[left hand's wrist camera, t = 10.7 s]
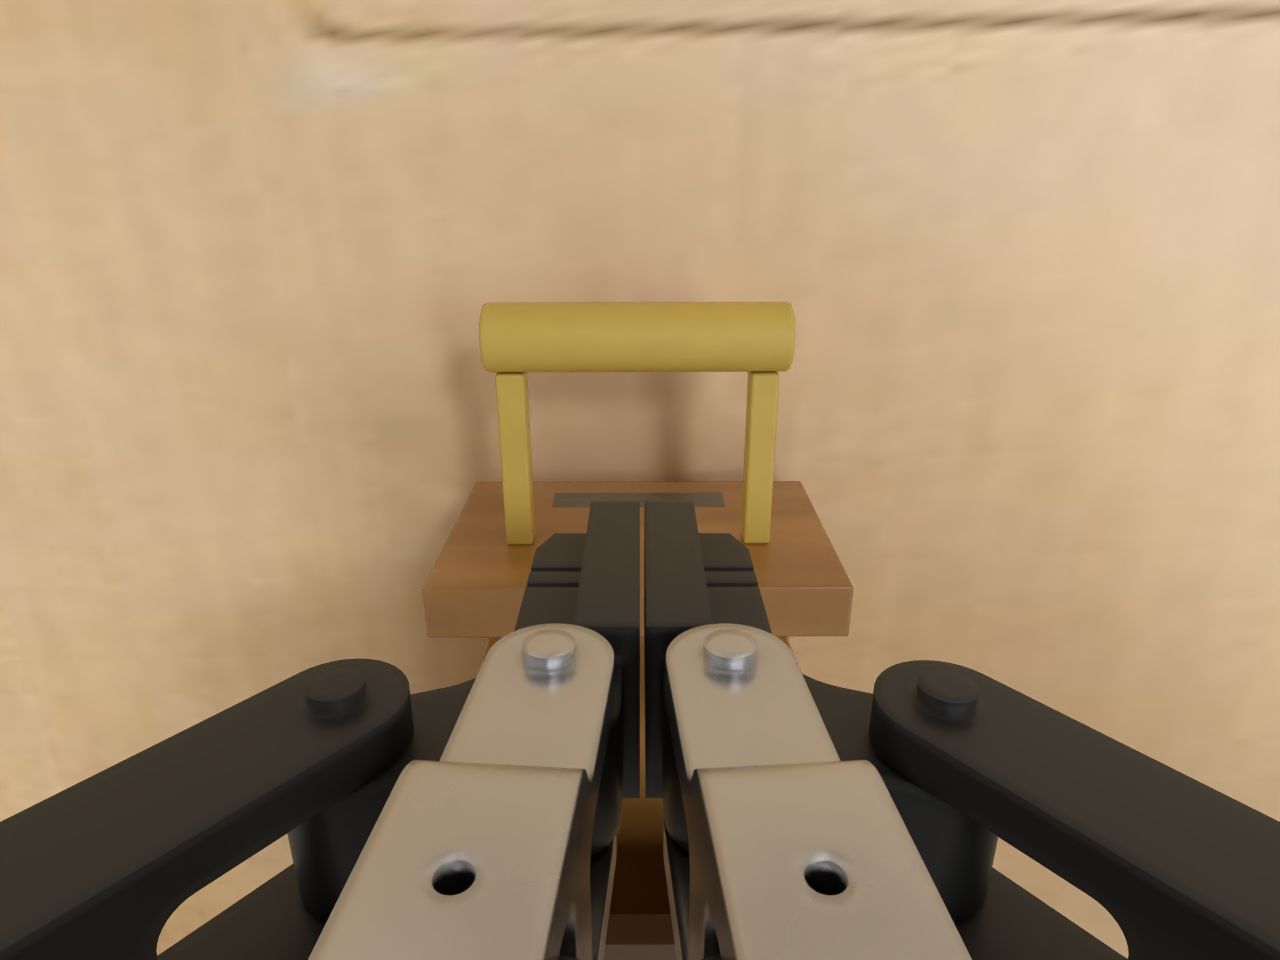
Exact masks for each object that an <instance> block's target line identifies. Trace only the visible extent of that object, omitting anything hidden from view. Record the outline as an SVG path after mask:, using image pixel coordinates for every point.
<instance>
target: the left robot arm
mask: <svg viewBox="0 0 1280 960" xmlns="http://www.w3.org/2000/svg"><path fill="white" fill-rule="evenodd" d="M644 680H645V795H646V798H663V810H664V841H663V856H664V865H665V873H666V881H667V888H668V896H669V904H670V912H671V920H672V927H673V935H674V943H675V951H676V958H677V960H1280V822H1279V821H1277V820H1275V819H1273V818H1271V817H1269V816H1267V815H1265V814H1263V813H1261V812H1258V811H1256V810H1254V809H1252V808H1250V807H1248V806H1246V805H1244V804H1242V803H1240V802H1238V801H1236V800H1234V799H1232V798H1230V797H1228V796H1226V795H1224V794H1222V793H1220V792H1218V791H1216V790H1214V789H1212V788H1210V787H1208V786H1206V785H1204V784H1202V783H1200V782H1198V781H1196V780H1194V779H1192V778H1190V777H1188V776H1186V775H1184V774H1182V773H1180V772H1178V771H1176V770H1174V769H1172V768H1170V767H1168V766H1166V765H1164V764H1162V763H1160V762H1158V761H1156V760H1154V759H1152V758H1150V757H1148V756H1146V755H1144V754H1142V753H1140V752H1138V751H1136V750H1134V749H1132V748H1130V747H1128V746H1126V745H1124V744H1122V743H1120V742H1118V741H1116V740H1114V739H1112V738H1110V737H1108V736H1106V735H1104V734H1102V733H1100V732H1098V731H1096V730H1094V729H1092V728H1090V727H1088V726H1086V725H1084V724H1082V723H1080V722H1078V721H1076V720H1074V719H1072V718H1070V717H1068V716H1066V715H1064V714H1062V713H1060V712H1058V711H1056V710H1054V709H1052V708H1050V707H1048V706H1046V705H1044V704H1042V703H1040V702H1038V701H1036V700H1034V699H1032V698H1030V697H1028V696H1026V695H1024V694H1022V693H1020V692H1018V691H1016V690H1014V689H1012V688H1010V687H1008V686H1006V685H1004V684H1002V683H1000V682H998V681H996V680H994V679H992V678H990V677H988V676H986V675H984V674H981V673H979V672H977V671H975V670H972V669H969V668H966V667H963V666H960V665H956V664H952V663H947V662H940V661H929V660H920V661H909V662H903V663H900V664H896V665H894V666H891V667H889V668H887V669H886V670H885V671H883V672H882V673H881V674H880V675H879V676H878V678H877V679H876V682H875V684H874V692H873V694H870V693H865V692H861V691H856V690H851V689H846V688H841V687H837V686H832V685H828V684H825V683H822V682H820V681H817V680H814V679H812V678H810V677H808V676H806V675H804V674H802V673H801V670H800V668H799V666H798V664H797V661H796V659H795V657H794V655H793V653H792V651H791V650H790V648H789V647H788V646H787V645H786V644H785V643H784V642H783V641H782V640H780V639H779V638H778V637H776V636H774V635H772V632H771V628H770V625H769V621H768V618H767V614H766V610H765V607H764V603H763V599H762V596H761V592H760V589H759V587H758V581H757V578H756V574H755V571H754V567H753V563H752V560H751V556H750V553H749V549H748V548H747V547H745V546H744V545H743V544H742V543H741V542H740V541H738V540H737V539H736V538H735V537H734V536H732V535H731V534H730V533H698V528H697V521H696V515H695V508H694V502H693V501H644ZM623 798H640V501H591V504H590V511H589V518H588V525H587V532H586V533H554V534H553V535H552V536H551V537H550V538H549V539H547V540H546V541H545V542H544V543H543V544H541V545H540V546H539V547H538V548H537V549H536V551H535V555H534V558H533V562H532V566H531V571H530V573H529V577H528V581H527V587H526V589H525V592H524V596H523V600H522V604H521V607H520V611H519V615H518V619H517V622H516V626H515V630H514V632H512V633H510V634H508V635H506V636H504V637H502V638H501V639H500V640H498V641H497V642H496V643H495V644H494V645H493V646H492V647H491V648H490V650H489V651H488V653H487V655H486V657H485V659H484V661H483V664H482V666H481V668H480V670H479V673H478V675H477V677H476V678H474V679H472V680H470V681H467V682H464V683H461V684H458V685H455V686H451V687H447V688H442V689H437V690H432V691H427V692H422V693H417V694H412V695H410V690H409V682H408V680H407V678H406V676H405V675H404V673H403V672H402V671H401V670H399V669H398V668H397V667H395V666H393V665H391V664H389V663H386V662H382V661H378V660H371V659H346V660H339V661H333V662H329V663H325V664H321V665H318V666H315V667H312V668H310V669H307V670H305V671H303V672H300V673H298V674H296V675H294V676H292V677H290V678H288V679H286V680H284V681H282V682H280V683H278V684H276V685H274V686H272V687H270V688H268V689H266V690H264V691H262V692H260V693H258V694H256V695H254V696H252V697H250V698H248V699H246V700H244V701H242V702H240V703H238V704H236V705H234V706H232V707H230V708H228V709H226V710H224V711H222V712H220V713H218V714H216V715H214V716H212V717H210V718H208V719H206V720H204V721H202V722H200V723H198V724H196V725H194V726H192V727H190V728H188V729H186V730H184V731H182V732H180V733H178V734H176V735H174V736H172V737H170V738H168V739H166V740H164V741H162V742H160V743H158V744H156V745H154V746H152V747H150V748H148V749H146V750H144V751H142V752H140V753H138V754H136V755H134V756H132V757H130V758H128V759H126V760H124V761H122V762H120V763H118V764H116V765H114V766H112V767H110V768H108V769H106V770H104V771H102V772H100V773H98V774H96V775H94V776H92V777H90V778H88V779H86V780H84V781H82V782H80V783H78V784H76V785H74V786H72V787H70V788H68V789H66V790H64V791H62V792H60V793H58V794H56V795H54V796H52V797H50V798H48V799H46V800H44V801H42V802H40V803H38V804H36V805H34V806H32V807H30V808H28V809H26V810H24V811H22V812H20V813H18V814H16V815H14V816H12V817H9V818H7V819H5V820H3V821H1V822H0V960H603V958H604V951H605V943H606V935H607V927H608V920H609V912H610V904H611V896H612V888H613V881H614V873H615V865H616V856H617V841H616V835H617V833H618V831H619V828H620V826H621V821H622V803H623ZM287 833H288V838H289V843H290V848H291V853H292V858H293V863H294V864H292V865H291V866H289V867H288V868H286V869H285V870H283V871H282V872H280V873H279V874H277V875H276V876H274V877H273V878H272V879H270V880H269V881H267V882H266V883H264V884H263V885H261V886H260V887H258V888H257V889H255V890H254V891H252V892H251V893H249V894H248V895H246V896H245V897H244V898H242V899H241V900H239V901H238V902H236V903H235V904H233V905H232V906H230V907H229V908H227V909H226V910H224V911H223V912H221V913H220V914H219V915H217V916H216V917H214V918H213V919H211V920H210V921H208V922H207V923H205V924H204V925H202V926H201V927H199V928H198V929H196V930H195V931H194V932H192V933H191V934H189V935H188V936H186V937H185V938H183V939H182V940H180V941H179V942H177V943H176V944H174V945H173V946H171V947H170V948H168V949H167V950H166V951H164V952H163V953H161V954H159V955H158V956H157V953H156V949H157V942H158V938H159V935H160V933H161V930H162V928H163V926H164V925H165V923H166V921H167V920H168V918H169V917H170V916H171V914H172V913H173V912H174V911H175V910H176V909H177V908H178V906H179V905H180V904H182V903H183V902H184V901H185V900H186V899H187V898H189V897H190V896H191V895H193V894H194V893H195V892H197V891H199V890H200V889H202V888H203V887H205V886H206V885H208V884H209V883H211V882H213V881H214V880H216V879H217V878H219V877H220V876H222V875H223V874H225V873H226V872H228V871H230V870H231V869H233V868H234V867H236V866H237V865H239V864H240V863H242V862H243V861H245V860H247V859H248V858H250V857H251V856H253V855H254V854H256V853H257V852H259V851H260V850H262V849H264V848H265V847H267V846H268V845H270V844H271V843H273V842H274V841H276V840H277V839H279V838H281V837H282V836H284V835H285V834H287ZM998 837H999V838H1001V839H1003V840H1004V841H1006V842H1007V843H1009V844H1010V845H1012V846H1013V847H1015V848H1016V849H1018V850H1020V851H1021V852H1023V853H1024V854H1026V855H1027V856H1029V857H1030V858H1032V859H1033V860H1035V861H1037V862H1038V863H1040V864H1041V865H1043V866H1044V867H1046V868H1047V869H1049V870H1051V871H1052V872H1054V873H1055V874H1057V875H1058V876H1060V877H1061V878H1063V879H1064V880H1066V881H1068V882H1069V883H1071V884H1072V885H1074V886H1075V887H1077V888H1078V889H1080V890H1081V891H1083V892H1085V893H1086V894H1088V895H1089V896H1091V897H1092V898H1093V899H1095V900H1096V901H1098V902H1099V903H1100V904H1101V905H1102V906H1103V907H1104V908H1105V909H1106V910H1107V911H1108V912H1109V913H1110V914H1111V915H1112V916H1113V918H1114V919H1115V920H1116V922H1117V923H1118V924H1119V926H1120V928H1121V930H1122V931H1123V933H1124V936H1125V938H1126V941H1127V945H1128V950H1129V957H1128V959H1127V958H1125V957H1124V956H1122V955H1120V954H1119V953H1117V952H1116V951H1114V950H1113V949H1112V948H1110V947H1109V946H1107V945H1106V944H1104V943H1103V942H1101V941H1100V940H1098V939H1097V938H1095V937H1094V936H1092V935H1091V934H1089V933H1088V932H1087V931H1085V930H1084V929H1082V928H1081V927H1079V926H1078V925H1076V924H1075V923H1073V922H1072V921H1070V920H1069V919H1067V918H1066V917H1064V916H1063V915H1061V914H1060V913H1059V912H1057V911H1056V910H1054V909H1053V908H1051V907H1050V906H1048V905H1047V904H1045V903H1044V902H1042V901H1041V900H1039V899H1038V898H1036V897H1035V896H1034V895H1032V894H1031V893H1029V892H1028V891H1026V890H1025V889H1023V888H1022V887H1020V886H1019V885H1017V884H1016V883H1014V882H1013V881H1011V880H1010V879H1008V878H1007V877H1006V876H1004V875H1003V874H1001V873H1000V872H998V871H997V870H995V869H994V868H992V865H993V860H994V855H995V850H996V845H997V840H998Z"/></svg>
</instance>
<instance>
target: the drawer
mask: <svg viewBox="0 0 1280 960" xmlns="http://www.w3.org/2000/svg"><path fill="white" fill-rule="evenodd" d="M479 340H480V352H481V358H482V362H483V365H484V368H485V370H486V371H488V372H498V373H497V374H496V376H495V378H496V393H497V407H498V422H499V437H500V451H501V466H502V481H503V482H477V483H476V484H475V486H474V488H473V490H472V492H471V494H470V496H469V498H468V500H467V502H466V504H465V506H464V508H463V510H462V512H461V514H460V516H459V518H458V520H457V522H456V524H455V526H454V528H453V530H452V532H451V534H450V536H449V538H448V540H447V542H446V544H445V546H444V548H443V550H442V552H441V554H440V555H439V557H438V559H437V561H436V563H435V565H434V567H433V569H432V571H431V573H430V575H429V577H428V579H427V581H426V583H425V585H424V587H423V595H424V604H425V613H426V622H427V631H428V636H429V637H489V638H488V641H487V645H486V648H485V651H484V654H483V657H482V660H481V664H480V667H479V670H480V668H481V666H482V664H483V661H484V659H485V657H486V655H487V653H488V651H489V650H490V648H491V647H492V646H493V645H494V644H495V643H496V642H497V641H498V640H500V639H501V638H502V637H504V636H506V635H508V634H510V633H512V632H514V630H515V626H516V622H517V619H518V615H519V611H520V607H521V604H522V600H523V596H524V592H525V589H526V587H527V581H528V577H529V573H530V571H531V566H532V562H533V558H534V555H535V551H536V549H537V548H538V547H539V546H540V545H541V544H543V543H544V542H545V541H546V540H547V539H549V538H550V537H551V536H552V535H553V534H554V533H586V532H587V525H588V518H589V511H590V504H591V501H640V798H623V803H622V821H621V826H620V828H619V831H618V833H617V835H616V841H617V856H616V865H615V873H614V881H613V888H612V896H611V904H610V912H609V914H671V912H670V904H669V896H668V888H667V881H666V873H665V865H664V856H663V841H664V810H663V798H646V795H645V680H644V501H693V502H694V508H695V515H696V521H697V528H698V533H730V534H731V535H732V536H734V537H735V538H736V539H737V540H738V541H740V542H741V543H742V544H743V545H744V546H745V547H747V548H748V549H749V553H750V556H751V560H752V563H753V567H754V571H755V574H756V578H757V581H758V587H759V589H760V592H761V596H762V599H763V603H764V607H765V610H766V614H767V618H768V621H769V625H770V628H771V632H772V635H774V636H776V637H778V638H779V639H780V640H782V641H783V642H784V643H785V644H786V645H787V646H788V647H789V648H790V650H791V651H792V648H791V645H790V641H789V638H788V636H848V634H849V624H850V615H851V605H852V595H853V586H852V584H851V582H850V580H849V578H848V576H847V574H846V572H845V570H844V568H843V566H842V564H841V562H840V560H839V558H838V556H837V554H836V552H835V550H834V548H833V546H832V544H831V542H830V540H829V538H828V536H827V534H826V532H825V530H824V528H823V526H822V524H821V522H820V520H819V518H818V516H817V514H816V512H815V510H814V508H813V506H812V504H811V502H810V500H809V498H808V496H807V494H806V492H805V490H804V488H803V486H802V484H801V482H800V481H773V473H774V456H775V439H776V422H777V406H778V389H779V374H778V373H777V371H787V370H789V368H790V366H791V363H792V360H793V354H794V345H795V320H794V312H793V308H792V305H791V304H790V303H788V302H602V303H486V304H484V305H483V307H482V310H481V315H480V325H479ZM739 371H748V388H747V410H746V432H745V454H744V476H743V482H533V478H532V459H531V441H530V423H529V404H528V386H527V372H739ZM792 653H793V651H792ZM793 655H794V654H793ZM479 670H478V673H479ZM478 673H477V675H478ZM476 677H477V676H476Z"/></svg>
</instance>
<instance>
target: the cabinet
mask: <svg viewBox="0 0 1280 960" xmlns="http://www.w3.org/2000/svg"><path fill="white" fill-rule="evenodd" d="M603 960H677V958H676V951H675V943H674V935H673V927H672V920H671V914H609V920H608V927H607V935H606V943H605V951H604V958H603Z"/></svg>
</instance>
